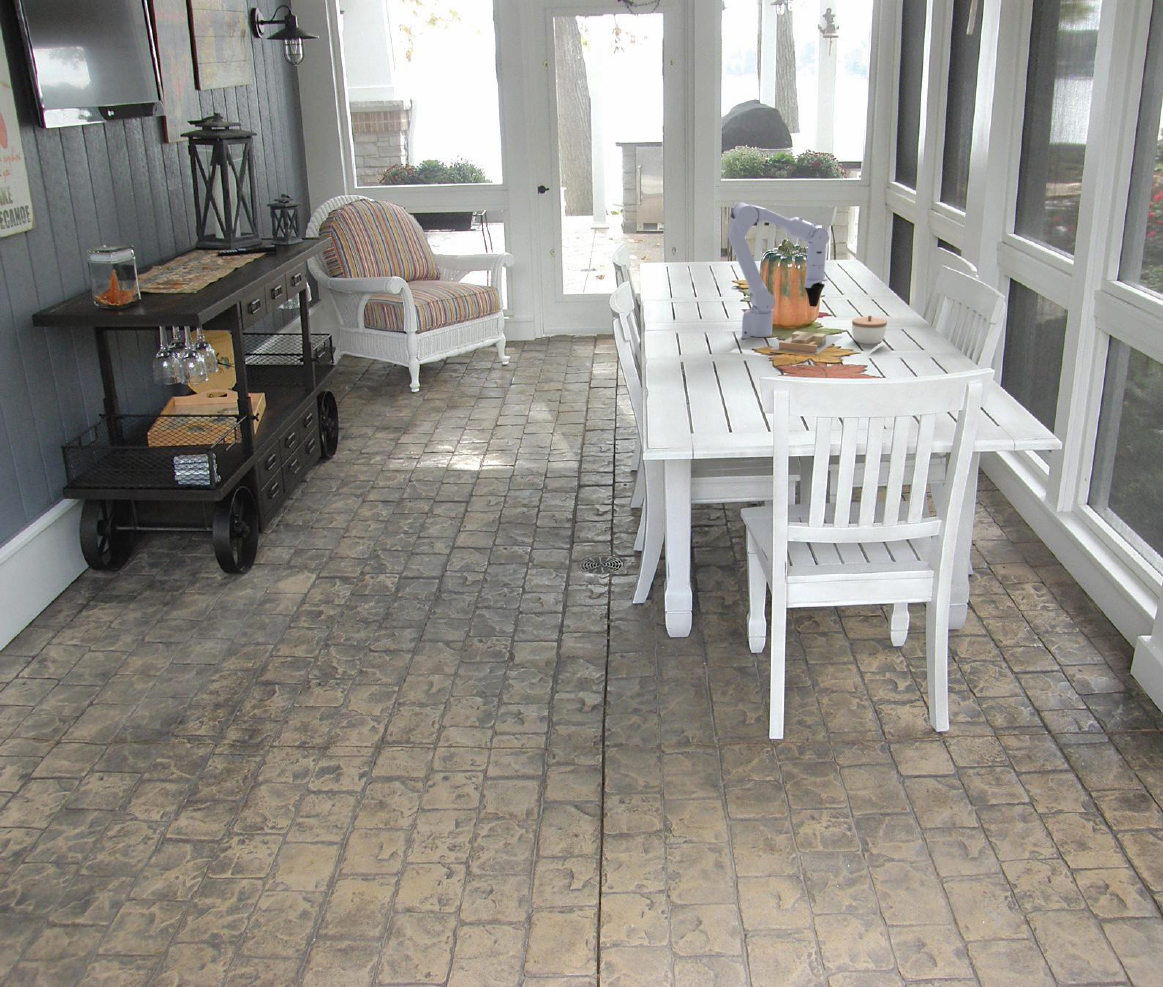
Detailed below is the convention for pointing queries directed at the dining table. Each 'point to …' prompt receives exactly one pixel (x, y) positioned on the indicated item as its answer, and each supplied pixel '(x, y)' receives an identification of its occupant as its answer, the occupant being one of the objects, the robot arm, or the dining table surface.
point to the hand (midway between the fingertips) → (813, 306)
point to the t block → (809, 338)
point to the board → (804, 346)
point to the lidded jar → (868, 329)
